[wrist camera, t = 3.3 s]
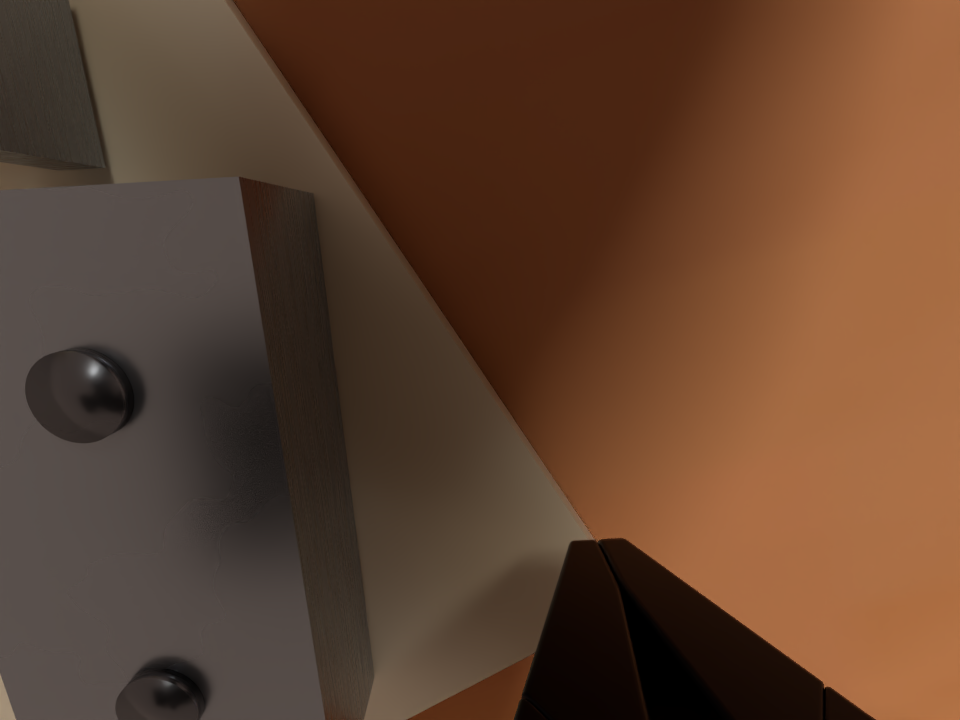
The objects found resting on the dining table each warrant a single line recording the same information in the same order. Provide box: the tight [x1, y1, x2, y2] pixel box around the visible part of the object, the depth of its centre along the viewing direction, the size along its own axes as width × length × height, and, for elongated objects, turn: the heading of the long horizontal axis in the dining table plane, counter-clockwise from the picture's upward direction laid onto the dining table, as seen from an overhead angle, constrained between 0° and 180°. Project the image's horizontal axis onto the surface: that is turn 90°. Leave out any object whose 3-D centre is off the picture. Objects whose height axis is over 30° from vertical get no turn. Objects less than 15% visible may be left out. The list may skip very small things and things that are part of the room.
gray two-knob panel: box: [0, 0, 374, 720], centre depth 7 cm, size 4×12×3 cm, turn 3°
